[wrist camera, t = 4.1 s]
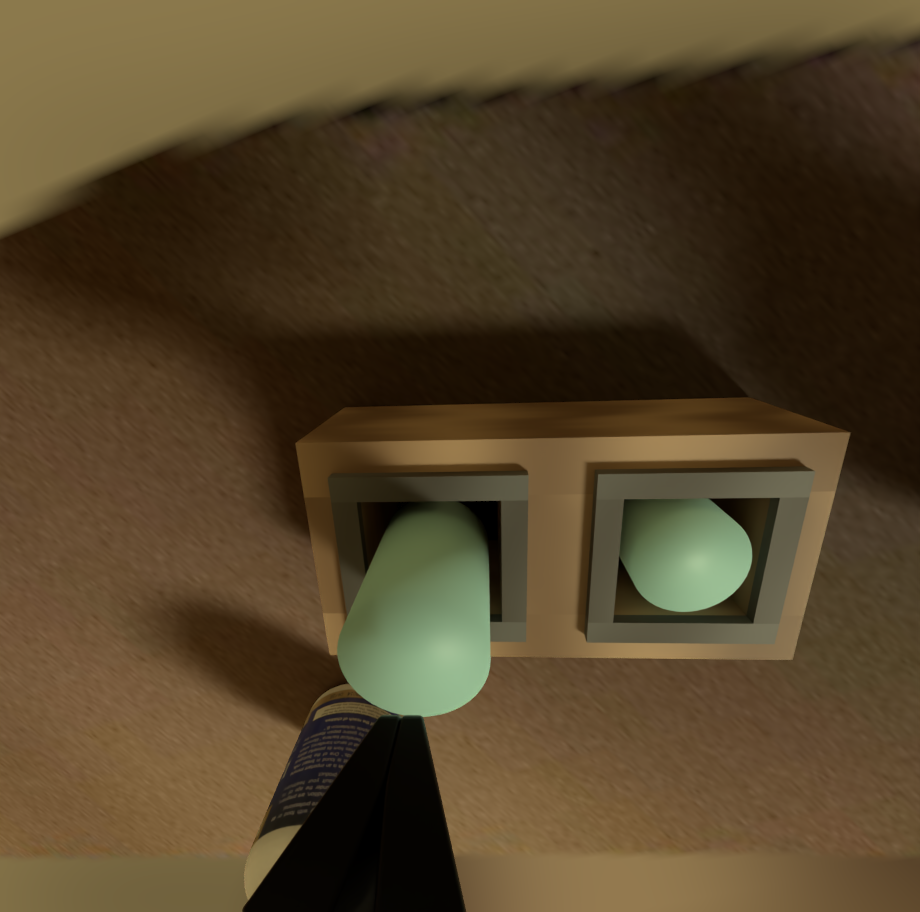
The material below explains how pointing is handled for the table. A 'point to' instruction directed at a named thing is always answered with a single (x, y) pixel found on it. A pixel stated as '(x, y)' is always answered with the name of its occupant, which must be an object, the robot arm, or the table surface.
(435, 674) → the plunger
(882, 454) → the table surface
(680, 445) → the socket block
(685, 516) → the plunger
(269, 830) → the pill bottle
